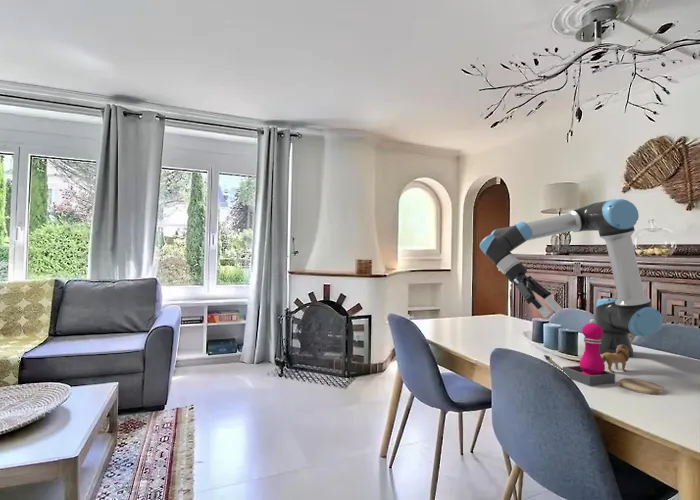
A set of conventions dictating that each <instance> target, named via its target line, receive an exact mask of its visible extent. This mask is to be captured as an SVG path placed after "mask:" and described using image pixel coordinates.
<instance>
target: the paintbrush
mask: <svg viewBox="0 0 700 500" xmlns="http://www.w3.org/2000/svg"><path fill="white" fill-rule="evenodd" d="M543 356H544V358H545V360H546V361H547V362H549V363H550V364H553V365H552V366H554V367H555V366H556V367H558V368H559V369H561V370H563V367H561V366H560V365H559V364H558V363H556V362H555V361H554V360H552V359H551V358H550V357H551V356H549V355H546V354H544V355H543ZM556 367H555V368H556ZM558 368H557V369H558ZM559 369H558V370H559Z"/></svg>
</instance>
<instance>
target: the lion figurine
mask: <svg viewBox="0 0 700 500" xmlns="http://www.w3.org/2000/svg"><path fill="white" fill-rule="evenodd" d="M601 357H602V359H603V361H604V363H607V370H608V372H610V373H613V374H616V372H615V370H619V366H618V365H619V364H621V371H622V372H625V373H626V372H627V370H626V364H627V363H626V362H628V361H629V358H630V356H629V349H628V348H627V347H626V345H618V346H617V349H616V353H604V354H601ZM613 364H614V370H612V366H613Z"/></svg>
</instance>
